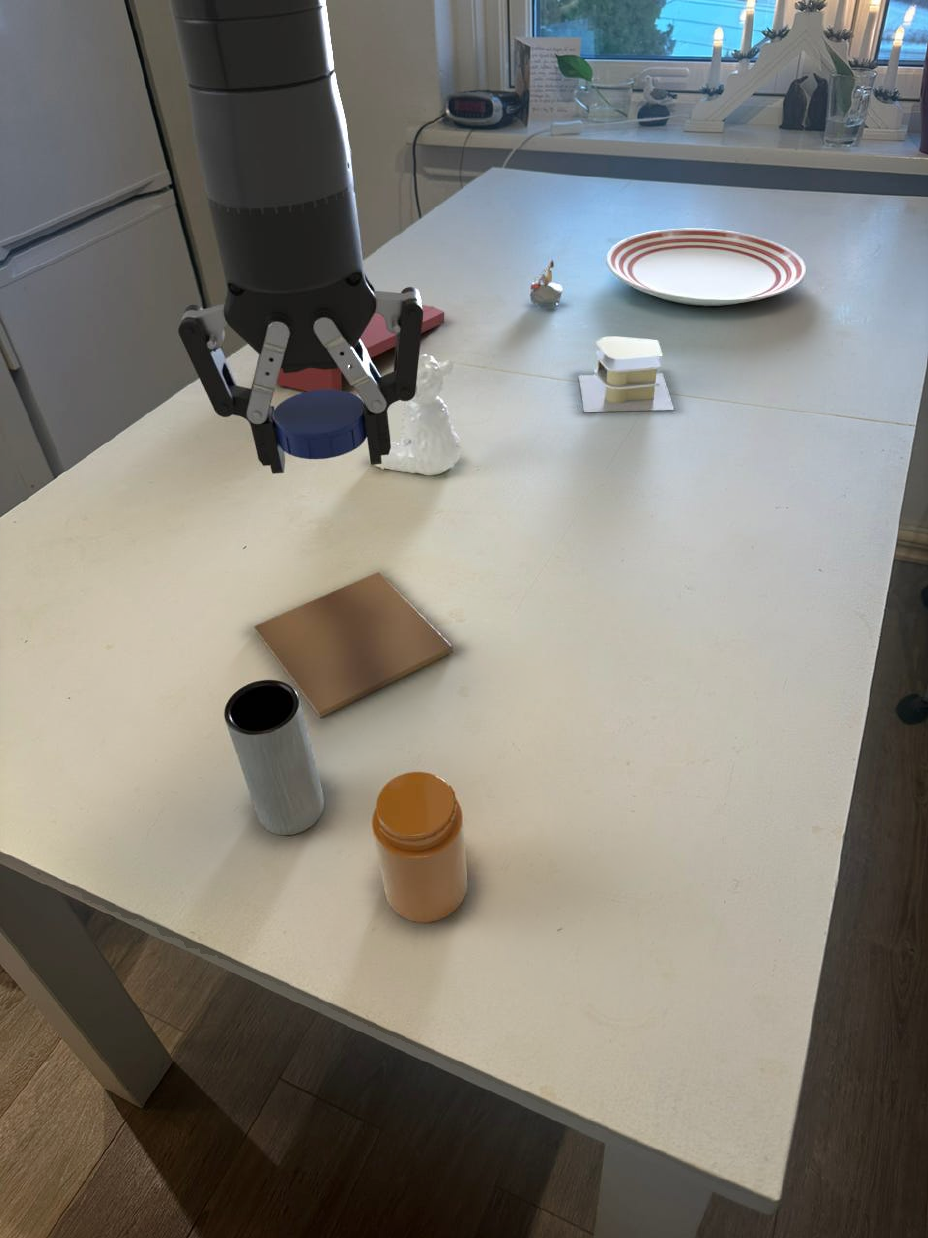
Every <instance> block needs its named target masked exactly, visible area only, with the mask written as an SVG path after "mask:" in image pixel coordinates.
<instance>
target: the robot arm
mask: <svg viewBox="0 0 928 1238" xmlns="http://www.w3.org/2000/svg"><path fill="white" fill-rule="evenodd" d="M326 1H327V0H168V6H169V11H170V14H171V20H172V25H173V29H174V34H175V38H176V42H177V48H178V51H179V55H180V61H181V65H182V69H183V74H184V77H185V81H186V87H187V88H186V89H187V92H188V98H189V99H188V100H189V106H190V115H191V117H190V118H191V128H192V135H193V142H194V147H195V151H196V155H197V159H198V165H199V168H200V171H201V172H200V173H201V178H202V181H203V187H204V190H205V195H206V199H207V204H208V208H209V212H210V217H211V219H212V220H211V221H212V225H213V229H214V235H215V238H216V239H215V240H216V242H217V243H216V244H217V248H218V252H219V256H220V261H221V265H222V270H223V274H224V278H225V283H226V297H225V302H224V303H222V304H217V305H215V306H211V307H207V308H202V307H201V306H200V305H197V304H190V305H188V306H186V307H185V309H184V311H183V315H182V317H181V320H180V323H179V326H178V330H177V331H178V335H179V337H180V340H181V342H182V344H183V346H184V348H185V350H186V353H187V356H188V357H189V359H190V361H191V363H192V365H193V367H194V370H195V372H196V374H197V376H198V379H199V381H200V382H201V385H202V387H203V389H204V391H205V393H206V395H207V397H208V399H209V402H210V404H211V406H212V408H213V410H214V412H215V413H216V415H218V416H220V417H222V418H228V417H230V416H232V415H234V416H238V417H241V418H244V419H245V420H246V421H247V422H248V424H249V425H250V429H251V433H252V438H253V442H254V445H255V449H256V450H255V451H256V455H257V458H258V459H257V460H258V461H259V462H260V463H261V465H262V466H263V467H268V466H270V470H271V473H272V475H275V474H284V473H285V468H286V467H285V465H286V454H285V453H286V452H285V451H283V450H282V449H281V447H280V446H279V444H278V442H277V437H276V433H275V428H274V427H275V424H274V419H273V417H274V411H275V409H276V406H275V405H271V403H272V400H273V396H274V393H275V390H276V387H277V379H278V375H279V372H280V369H283V372H284V373H292V372H299V371H301V370H304V369H307V368H316V369H323V370H326V369H337V365H338V367H339V369H340V370H341V374H342V375H343V376H344V378H345V380H346V381H347V382H348V385H350V386H351V387H353V388H354V389H355V391H356V393H357V394H358V397H359V398H360V399H361V400H362V401H363V403H364V418H365V426H366V433H367V437H366V439H367V447H368V456H369V455H370V460H369V462H370V466H375V465H376V464H382V459H381V455H389V452H390V449H391V442H392V441H391V433H390V432H391V431H390V423H389V415H388V414H389V413H388V410H389V408H390V406H392V405H393V404H394V403H396V402H399V401H401V402H407V401H409V400H411V399H412V398H413V397H414V396H415V391H416V381H417V371H418V361H419V356H420V350H421V341H422V333H421V332H422V322H423V309H422V305H423V303H422V297H421V293H420V291H419V290H418V289H417V288H416V287H413V286H408V287H404V288H403V290H401V292H394V291H392V292H391V291H384V290H383V291H382V290H381V291H380V290H375V287H374V286H373V284H372V283H371V281H370V280H369V278H368V276H367V274H366V271H365V267H364V258H363V250H362V242H361V234H360V233H361V232H360V227H359V225H360V224H359V219H358V218H359V217H358V209H357V200H356V193H355V192H356V191H355V187H354V185H355V184H354V175H353V168H352V166H353V153H352V148H351V145H350V143H349V135H348V128H347V121H346V116H345V112H344V107H343V104H342V100H341V96H340V92H339V87H338V84H337V76H336V71H335V64H334V58H333V57H334V56H333V50H332V49H333V48H332V43H331V34H330V26H329V18H328V11H327V10H328V9H327V2H326ZM375 313H378V314H380V315H382V316H383V317H384V319H385V322H386V328H387V329H388V331H389V332H391V333H393V334H397V337H396V346H395V350H394V353H395V354H394V363H393V371H391V372H389V373H386V374H384V375H381V374H380V372H379V371H378V369H377V368H376V365H375V364H374V363H373V360H372V358H370V357H369V354H368V352H367V350H366V348H365V346H364V345H363V343H362V341H361V340H360V338H361V336H362V334H363V333H364V331H365V329H366V328H367V326H368V324H369V322H370V321H371V319H372V317H373V316H374V314H375ZM226 327H230V328H231V330H233V331H234V332H235V334H237V335H238V336H239V337H240V338H241V339H242V340H243V341H244V342H245V343H247V344H248V345H249V346H250V347H251V349H253V350H254V352H256V353H257V354H258V358H257V362H256V366H255V371H254V375H253V379H252V382H251V383H252V384H251V387H244V386H241V385H238V384H237V382H236V379H235V378H234V377H235V376H234V375H233V373H232V371H231V368H230V366H229V363H228V361H227V359H226V356H225V355H224V352H223V350H222V347H223V345H224V341H225V337H226V332H225V328H226Z"/></svg>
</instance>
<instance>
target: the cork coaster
mask: <svg viewBox="0 0 928 1238" xmlns="http://www.w3.org/2000/svg"><path fill="white" fill-rule="evenodd" d="M253 628H254V631H255V633H256V634H257V635H258V637H259V639H261V641H262V642H263V643H264V645H265V646H266V648H267V649H268V650H269V651H270V653H271V654H272V655H273V657H274V659H276V661H277V662H278V663H279V665H280V666H281V667H282V669H283V670H284V671H285V673H286V674H287V675H288V677H289V678H290V680H291V681H292V682H293V684H294V685H295V686H296V688H297V689H298V691H299V692H300V693H301V694H302V696H303V697H304V698H305V700H306V701H307V702H308V704H309V705H310V707H311V708H312V709H313V711H314V712H315V713H316V714H317V716H318V717H319V718H323V717H325V716H327V715H329V714H331V713H333V712H335V711H337V710H339V709H341V708H343V707H346V706H347V705H349V704H351V703H353V702H355V701H357V700H359V699H362V698H364V697H366V696H368V695H369V694H371V693H373V692H375V691H377V690H380V689H381V688H385V687H386V686H388V685H390V684H391V683H394V682H395V681H397V680H400V679H401V678H404V677H406V676H408V675H410V674H412V673H414V672H416V671H417V670H420V669H422V668H424V667H426V666H428V665H430V664H432V663H434V662H436V661H438V660H440V659H442V658H444V657H446V656H448V655H451V654H452V653H454V646H453V645H452V644H451V643H450V642H448V640H447V639H446V638H445V637H444V636H443V635H441V633H440V632H439V631H438V630H437V629H436V628H435V627H434V626H433V625H432V624H431V623H430V622H429V621H428V620H427V619H426V618H425V617H424V616H423V615H422V614H421V613H420V611H418V610H417V609H416V608H415V607H414V606H413V605H412V604H411V603H410V602H409V600H407V599H406V598H405V596H403V595H402V594H401V593H400V591H398V589H396V588H395V587H394V586H393V585H392V583H390V582H389V581H388V580H387V579H386V577H385V576H383V575H382V574H381V573H380V572H378V571H377V572H375V573H373V574H371V575H368V576H366V577H364V578H362V579H359V580H357V581H355V582H353V583H350V584H348V585H345V586H343V587H341V588H339V589H336V590H334V591H331V592H329V593H327V594H325V595H322V596H320V597H318V598H316V599H313V600H311V601H309V602H307V603H304V604H302V605H300V606H297V607H295V608H293V609H291V610H288V611H286V612H284V613H282V614H279V615H276V616H274V617H272V618H269V619H268V620H265V621H262V622H260V623H259V624H256V625H254V626H253Z"/></svg>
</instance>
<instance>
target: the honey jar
mask: <svg viewBox="0 0 928 1238" xmlns="http://www.w3.org/2000/svg"><path fill="white" fill-rule="evenodd" d="M371 827H372V832H373V838H374V843H375V848H376V854H377V858H378V859H377V860H378V864H379V870H380V874H381V879H382V885H383V890H384V894H385V898H386V901H387V903H388V905H389V906H390V907H391V909H392V910H393V911H394V912H395V913H396V914H398V915H399V916H400V917H402V918H403V919H406V920H408V921H412V922H416V923H432V922H436V921H439V920H442V919H444V918H446V917H448V916H450V915H451V914H452V913H454V912H455V910H457V909H458V908H459V906H461V904H462V902H463V901H464V899H465V896H466V894H467V890H468V869H467V858H466V857H467V856H466V844H465V830H464V817H463V810H462V806H461V804H460V802H459V800H457V797H456V792H455V791H454V789H453V787H452V786H451V785H449V784H448V783H447V782H446V781H445V780H444V779H443V778H441V777H439V776H438V775H435V774H433V773H429V772H426V771H425V772H424V771H412V772H406V773H403V774H400V775H398V776H396V777H394V778H392V779H391V780H389V781H388V782H387V783H386V784H385V785H384V786H383V788H382V789H381V790H380V791H379V793H378V796H377V799H376V804H375V809H374V810H373V814H372V820H371Z"/></svg>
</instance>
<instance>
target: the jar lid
mask: <svg viewBox="0 0 928 1238" xmlns="http://www.w3.org/2000/svg"><path fill="white" fill-rule="evenodd" d="M273 419H274V424H275V427H274V428H275V433H276V437H277V442H278V444H279V446H280V447H281V449H282V450H283V451H284V453H286V454H287V455H290V456H292V457H295V458H299V459H305V460H324V459H325V460H326V459H332V458H337V457H340V456H343V455H347V454H348V453H351V452H352V451H355V450H356V449H358V448H360V446H361V445H363V443H364V442H365V441H366V439H367V433H366V426H365V418H364V402H363V400H362V399H361V397H360V396H359V395H356V394H354V393H352V392H349V391H345V390H342V391H341V390H331V389H325V390H314V391H303V392H300V393H297V394H295V395H292V396H291V397H288V398H286V399H284V400H283V401H282V402H280V403H279V404H278V405H277V406H276V407H275V411H274V417H273Z"/></svg>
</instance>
